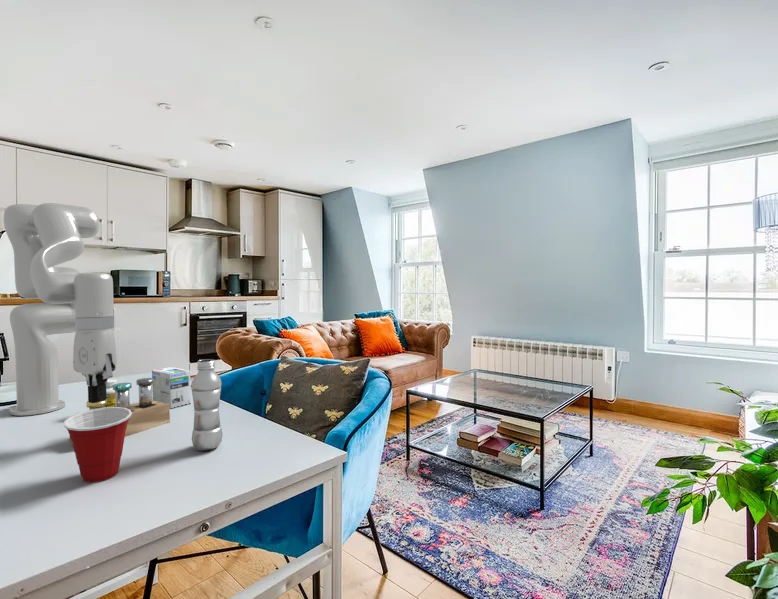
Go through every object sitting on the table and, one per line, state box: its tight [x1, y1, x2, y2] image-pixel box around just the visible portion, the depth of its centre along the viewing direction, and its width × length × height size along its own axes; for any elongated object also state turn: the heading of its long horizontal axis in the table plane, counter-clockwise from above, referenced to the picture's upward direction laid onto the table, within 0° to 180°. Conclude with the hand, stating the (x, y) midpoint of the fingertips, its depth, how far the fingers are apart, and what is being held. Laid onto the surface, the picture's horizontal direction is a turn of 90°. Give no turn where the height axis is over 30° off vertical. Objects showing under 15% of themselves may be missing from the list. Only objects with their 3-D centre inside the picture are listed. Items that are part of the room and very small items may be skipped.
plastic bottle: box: [190, 358, 223, 451], centre depth 94 cm, size 6×7×20 cm
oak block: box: [68, 399, 171, 444], centre depth 105 cm, size 8×20×5 cm, turn 154°
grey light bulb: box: [135, 377, 154, 409], centre depth 110 cm, size 4×4×8 cm
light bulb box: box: [151, 366, 192, 409], centre depth 129 cm, size 11×7×11 cm, turn 58°
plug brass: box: [86, 399, 107, 411], centre depth 99 cm, size 4×4×8 cm
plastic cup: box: [63, 407, 132, 483], centre depth 80 cm, size 11×11×12 cm
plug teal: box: [113, 382, 132, 410], centre depth 104 cm, size 4×4×8 cm
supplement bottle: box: [105, 379, 118, 408], centre depth 119 cm, size 5×5×10 cm
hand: (97, 401), depth 99 cm, fingers closed
